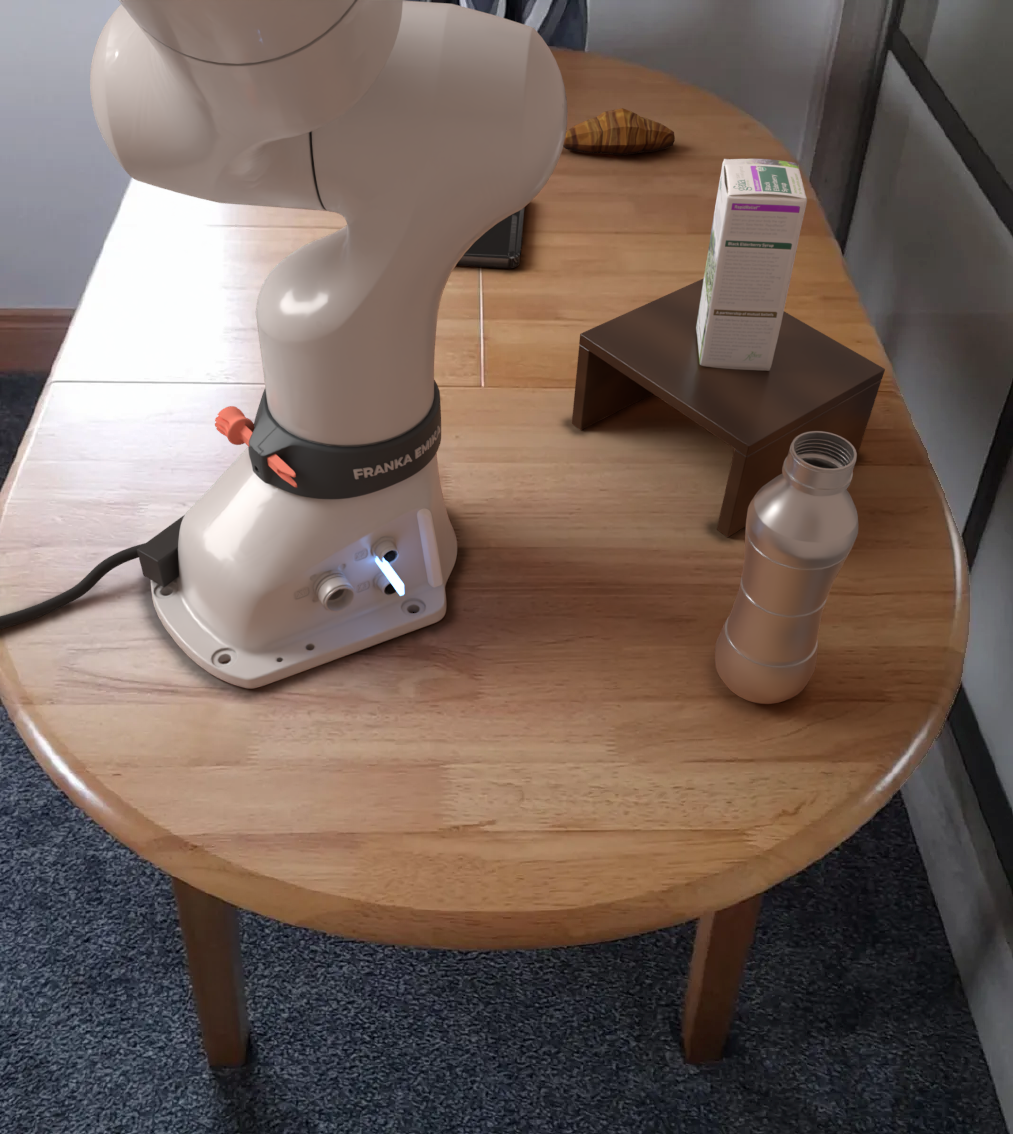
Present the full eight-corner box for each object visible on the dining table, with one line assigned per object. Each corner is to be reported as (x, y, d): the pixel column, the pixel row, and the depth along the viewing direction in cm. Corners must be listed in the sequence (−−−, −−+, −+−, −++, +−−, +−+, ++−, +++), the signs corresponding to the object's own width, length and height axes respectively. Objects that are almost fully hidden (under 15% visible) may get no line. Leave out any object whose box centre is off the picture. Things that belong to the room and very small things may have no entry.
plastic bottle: (818, 715, 77) (900, 486, 63) (718, 718, 77) (779, 489, 63) (794, 642, 82) (865, 414, 68) (699, 646, 81) (752, 416, 68)
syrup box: (772, 372, 90) (813, 197, 80) (696, 367, 90) (727, 192, 80) (764, 332, 94) (803, 160, 84) (691, 327, 94) (721, 155, 84)
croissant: (566, 164, 134) (570, 122, 131) (556, 138, 139) (559, 97, 135) (680, 161, 136) (686, 119, 132) (666, 136, 141) (672, 94, 137)
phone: (441, 254, 116) (454, 184, 127) (441, 264, 117) (454, 194, 128) (520, 259, 116) (526, 189, 127) (520, 269, 117) (526, 198, 127)
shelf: (727, 537, 90) (749, 446, 83) (571, 423, 99) (579, 333, 93) (857, 458, 97) (885, 368, 91) (700, 359, 107) (716, 272, 101)
